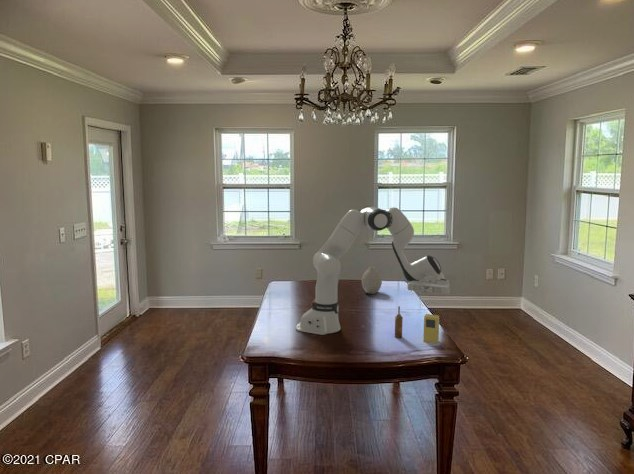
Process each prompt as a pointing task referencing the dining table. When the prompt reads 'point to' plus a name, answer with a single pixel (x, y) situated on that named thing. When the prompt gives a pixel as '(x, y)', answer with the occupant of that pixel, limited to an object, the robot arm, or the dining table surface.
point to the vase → (371, 280)
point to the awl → (398, 324)
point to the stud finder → (431, 328)
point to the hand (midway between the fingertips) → (425, 291)
